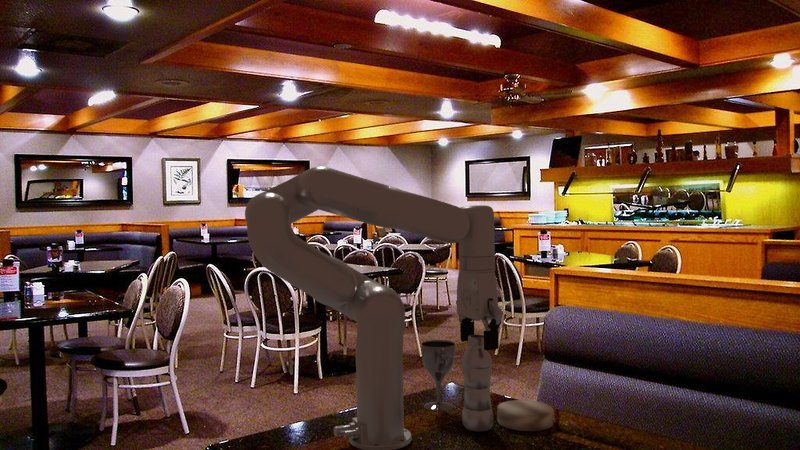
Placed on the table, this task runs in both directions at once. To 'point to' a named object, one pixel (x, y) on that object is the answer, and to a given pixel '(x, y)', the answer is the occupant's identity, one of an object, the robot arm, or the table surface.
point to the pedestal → (525, 415)
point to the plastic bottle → (477, 386)
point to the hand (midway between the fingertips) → (479, 344)
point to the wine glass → (438, 367)
